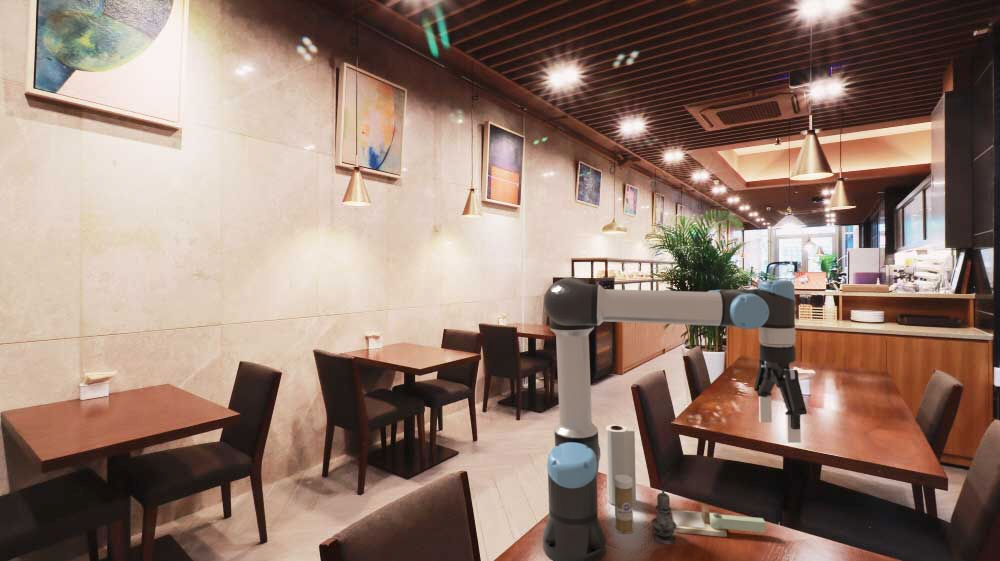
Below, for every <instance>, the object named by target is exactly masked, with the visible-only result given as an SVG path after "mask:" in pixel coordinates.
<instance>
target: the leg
mask: <svg viewBox="0 0 1000 561" xmlns="http://www.w3.org/2000/svg"><path fill="white" fill-rule="evenodd" d="M711 513H712V514H710V526H711V527H712V528H715V529H725V530H733V531H744V532H752V533H753V532H754V533H764V534H765V533H767V532H766V531H767V530H766V527H767V524H766V521H765V519H764V518H763V517H752V516H741V515H739V516H738V515H731V514H730V515H728V514H720V513H719V514H718V512H711Z"/></svg>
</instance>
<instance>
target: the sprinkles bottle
mask: <svg viewBox="0 0 1000 561" xmlns="http://www.w3.org/2000/svg"><path fill="white" fill-rule="evenodd" d="M614 485H615V505H614V516H615V517H614V518H615V525H614V528H615V530H616V531H617V532H618V533H621V534H630V533H633V531H634V527H633V526H634V524H633V523H634V522H633V516H634V514H633V513H634V510H633V509H634V508H633V507H634V506H633V505H634V504H633V505H632V486H633V482H632V478H631V477H630V476H627V475H616V476H615V477H614Z"/></svg>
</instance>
